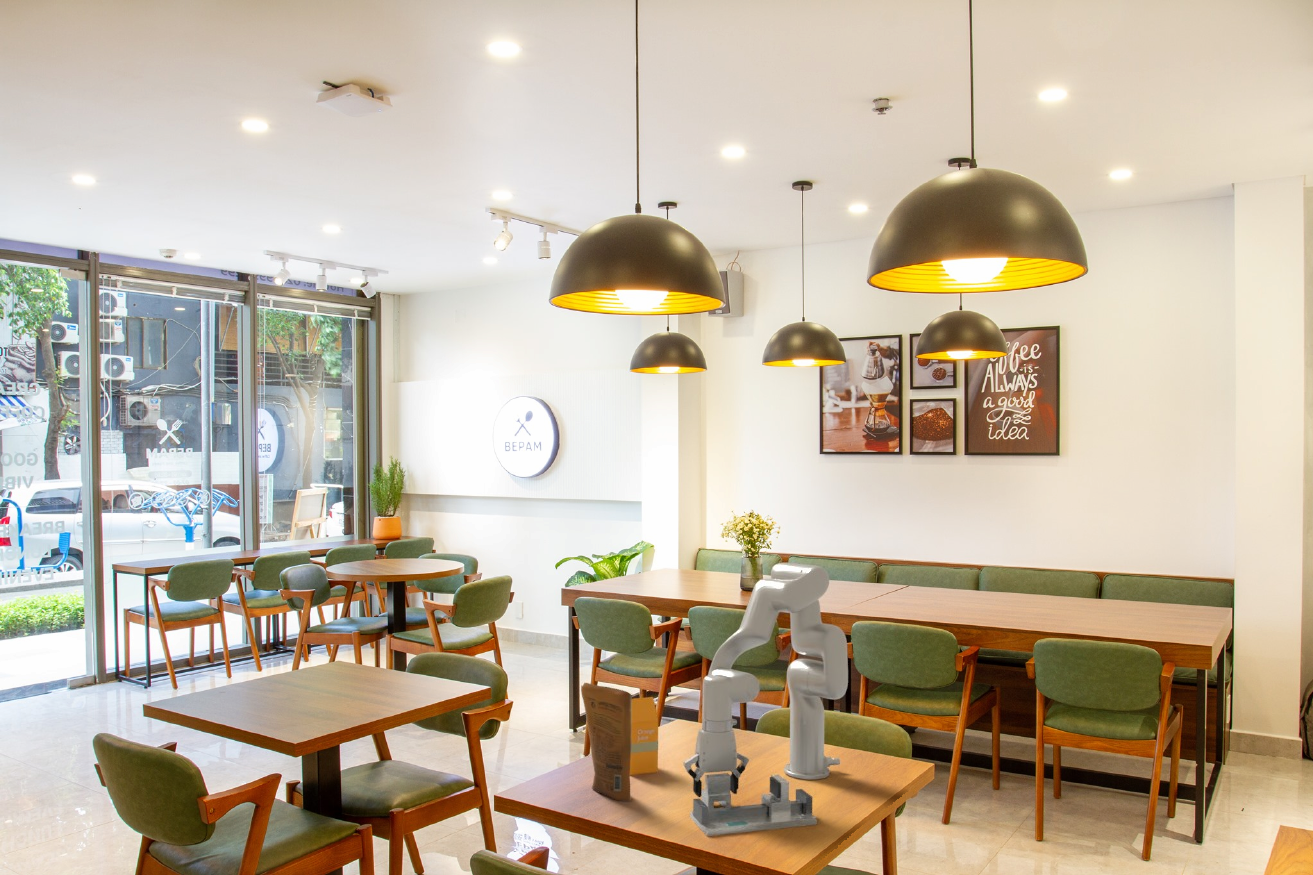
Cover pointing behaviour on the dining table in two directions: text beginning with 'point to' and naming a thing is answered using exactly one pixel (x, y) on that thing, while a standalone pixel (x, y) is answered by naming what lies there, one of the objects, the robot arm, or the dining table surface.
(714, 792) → the notched grey block
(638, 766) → the orange juice
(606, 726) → the pancake mix bag
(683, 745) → the dining table surface
